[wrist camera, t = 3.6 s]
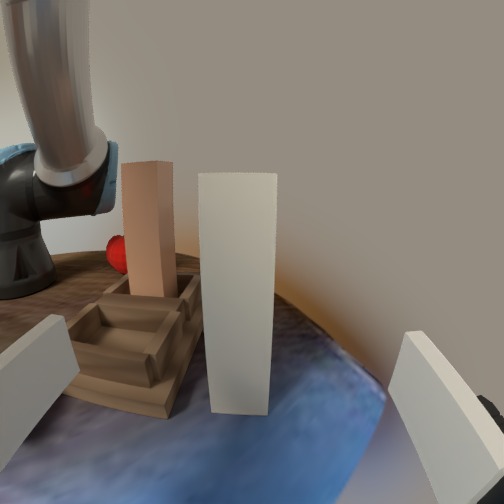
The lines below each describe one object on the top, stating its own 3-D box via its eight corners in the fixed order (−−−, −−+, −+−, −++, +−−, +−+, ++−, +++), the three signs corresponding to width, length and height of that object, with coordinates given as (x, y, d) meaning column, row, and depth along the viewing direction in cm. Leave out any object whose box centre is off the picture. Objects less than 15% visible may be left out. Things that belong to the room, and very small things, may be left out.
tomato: (119, 284, 42) (114, 243, 41) (103, 267, 50) (100, 233, 49) (173, 273, 48) (170, 234, 47) (149, 258, 56) (147, 226, 55)
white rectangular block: (211, 412, 19) (198, 173, 14) (220, 372, 23) (214, 173, 19) (267, 415, 18) (277, 173, 14) (267, 374, 23) (274, 173, 19)
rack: (167, 419, 17) (158, 377, 16) (42, 386, 18) (26, 347, 17) (215, 297, 39) (214, 269, 38) (133, 292, 39) (130, 266, 38)
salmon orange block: (133, 311, 30) (121, 163, 26) (148, 294, 35) (140, 164, 31) (165, 314, 30) (157, 160, 26) (178, 296, 35) (172, 162, 31)
